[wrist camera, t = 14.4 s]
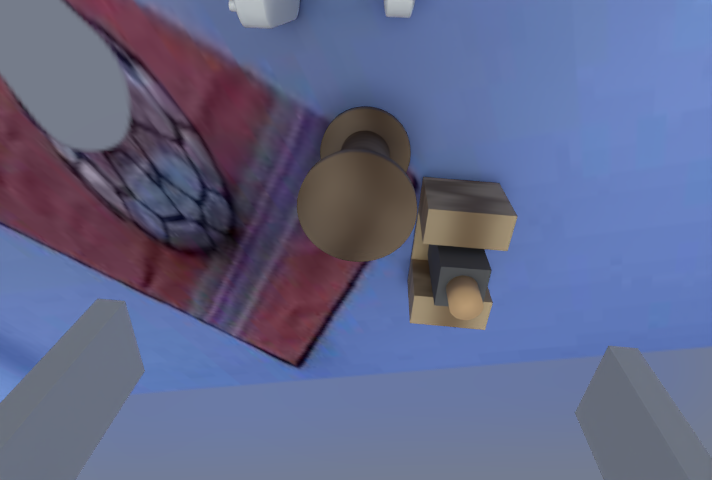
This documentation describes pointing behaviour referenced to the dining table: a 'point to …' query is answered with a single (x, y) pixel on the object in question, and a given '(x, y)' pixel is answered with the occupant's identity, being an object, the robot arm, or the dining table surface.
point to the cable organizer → (295, 11)
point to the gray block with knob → (459, 279)
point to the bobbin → (360, 188)
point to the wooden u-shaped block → (455, 239)
